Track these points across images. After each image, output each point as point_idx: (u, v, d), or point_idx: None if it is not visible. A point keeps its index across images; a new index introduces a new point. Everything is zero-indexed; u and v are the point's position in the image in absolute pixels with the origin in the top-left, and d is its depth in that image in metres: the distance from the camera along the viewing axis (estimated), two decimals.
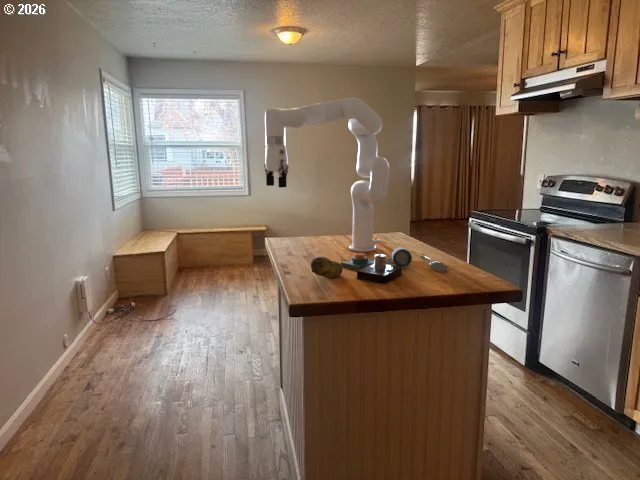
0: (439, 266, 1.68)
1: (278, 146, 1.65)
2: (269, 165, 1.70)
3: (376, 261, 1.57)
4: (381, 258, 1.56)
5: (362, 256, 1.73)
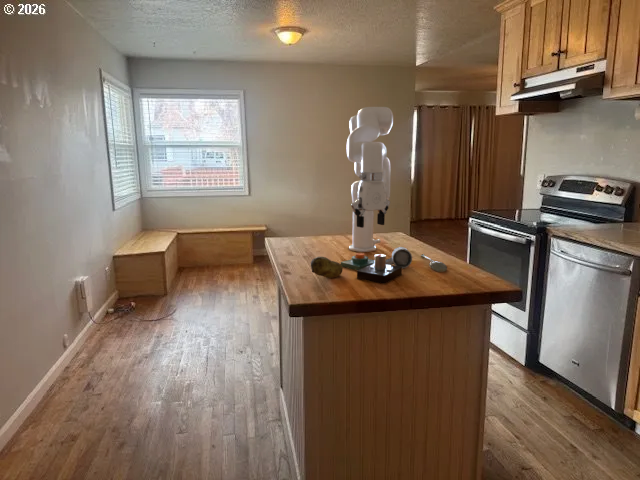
0: (439, 266, 1.68)
1: (360, 183, 1.53)
2: None
3: (376, 261, 1.57)
4: (381, 258, 1.56)
5: (362, 256, 1.73)
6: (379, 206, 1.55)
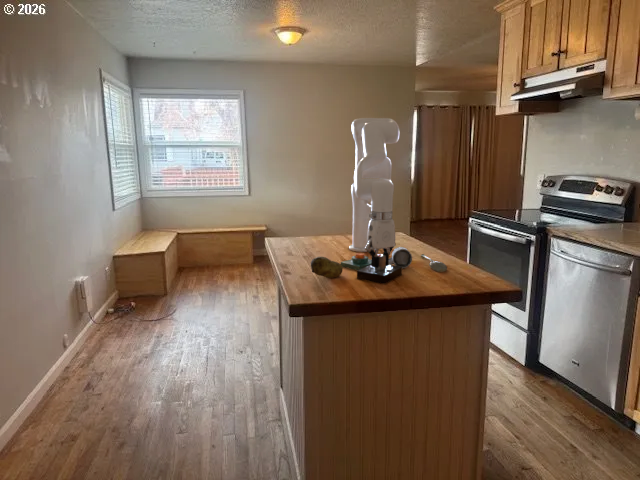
0: (439, 266, 1.68)
1: (370, 221, 1.54)
2: None
3: None
4: (381, 258, 1.56)
5: (362, 256, 1.73)
6: (389, 243, 1.56)
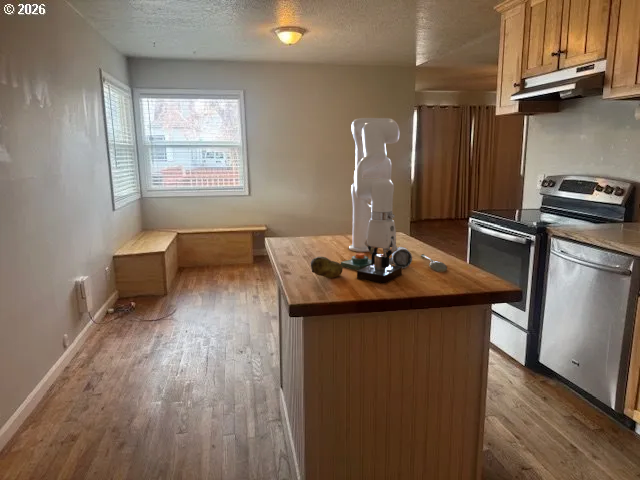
0: (439, 266, 1.68)
1: (389, 222, 1.52)
2: (374, 241, 1.56)
3: None
4: None
5: (362, 256, 1.73)
6: None
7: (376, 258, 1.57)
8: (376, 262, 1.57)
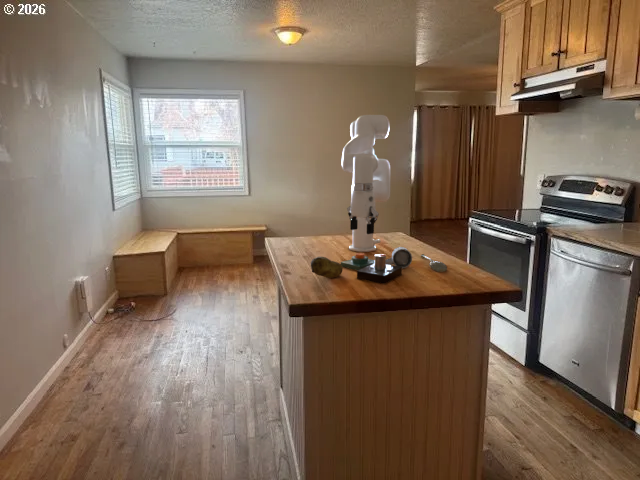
0: (439, 266, 1.68)
1: (367, 193, 1.64)
2: (356, 211, 1.69)
3: (384, 261, 1.58)
4: None
5: (362, 256, 1.73)
6: None
7: (376, 258, 1.57)
8: (376, 262, 1.57)
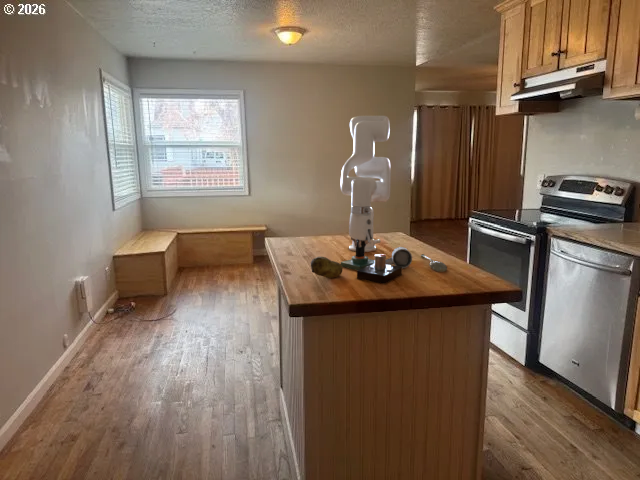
0: (439, 266, 1.68)
1: (365, 216, 1.67)
2: (354, 233, 1.72)
3: (384, 261, 1.58)
4: None
5: (362, 258, 1.73)
6: None
7: (376, 258, 1.57)
8: (376, 262, 1.57)
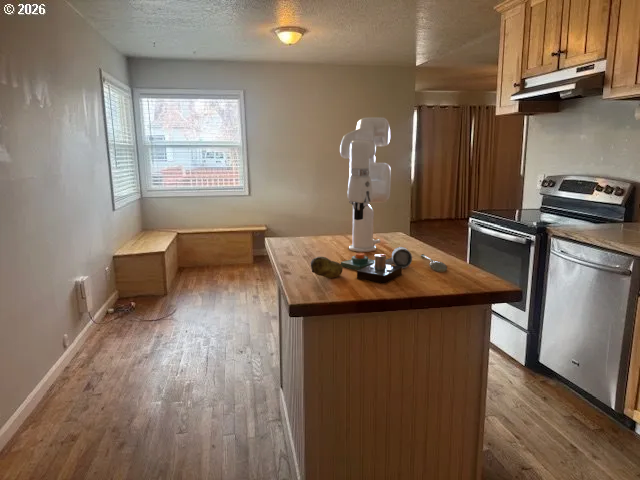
0: (439, 266, 1.68)
1: (364, 178, 1.68)
2: (352, 196, 1.73)
3: (384, 261, 1.58)
4: None
5: (362, 256, 1.73)
6: None
7: (376, 258, 1.57)
8: (376, 262, 1.57)
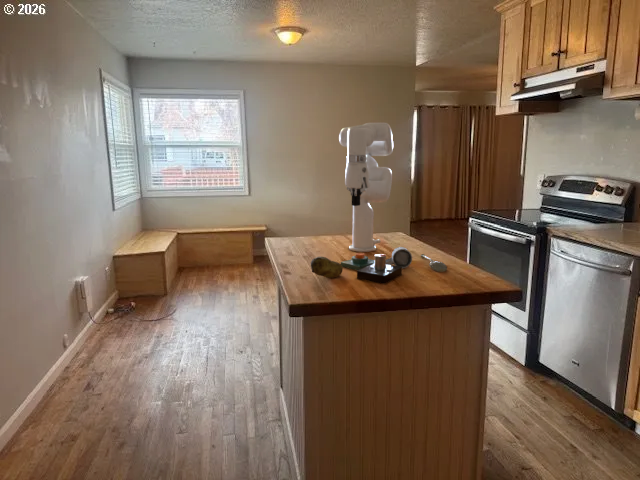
0: (439, 266, 1.68)
1: (361, 164, 1.71)
2: (350, 182, 1.77)
3: (384, 261, 1.58)
4: None
5: (362, 256, 1.73)
6: None
7: (376, 258, 1.57)
8: (376, 262, 1.57)
